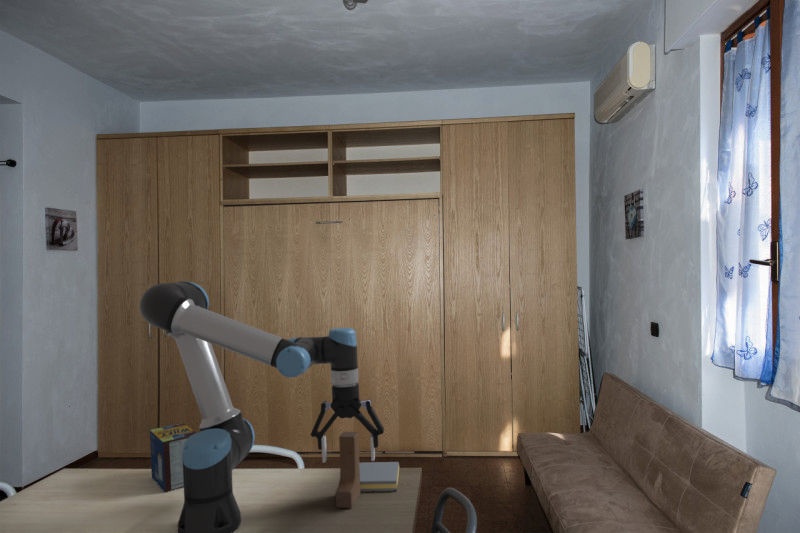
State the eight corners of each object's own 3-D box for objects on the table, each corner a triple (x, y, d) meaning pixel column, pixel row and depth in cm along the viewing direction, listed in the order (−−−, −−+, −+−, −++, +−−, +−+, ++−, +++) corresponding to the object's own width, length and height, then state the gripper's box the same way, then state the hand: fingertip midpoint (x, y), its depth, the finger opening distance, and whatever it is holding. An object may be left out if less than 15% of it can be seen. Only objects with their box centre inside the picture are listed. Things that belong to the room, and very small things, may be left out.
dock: (348, 492, 147) (348, 481, 147) (354, 472, 161) (354, 462, 161) (397, 491, 146) (396, 481, 146) (399, 471, 160) (399, 461, 160)
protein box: (184, 468, 169) (183, 422, 169) (200, 482, 157) (198, 433, 157) (150, 477, 162) (149, 429, 162) (164, 493, 150) (162, 441, 150)
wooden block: (351, 509, 136) (349, 442, 136) (335, 508, 137) (333, 442, 137) (360, 494, 145) (358, 431, 145) (345, 493, 146) (343, 431, 146)
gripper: (297, 389, 138) (301, 466, 138) (388, 385, 137) (392, 463, 137) (303, 382, 145) (307, 456, 145) (390, 379, 144) (394, 453, 144)
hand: (349, 460), depth 141 cm, fingers open, 13 cm apart
